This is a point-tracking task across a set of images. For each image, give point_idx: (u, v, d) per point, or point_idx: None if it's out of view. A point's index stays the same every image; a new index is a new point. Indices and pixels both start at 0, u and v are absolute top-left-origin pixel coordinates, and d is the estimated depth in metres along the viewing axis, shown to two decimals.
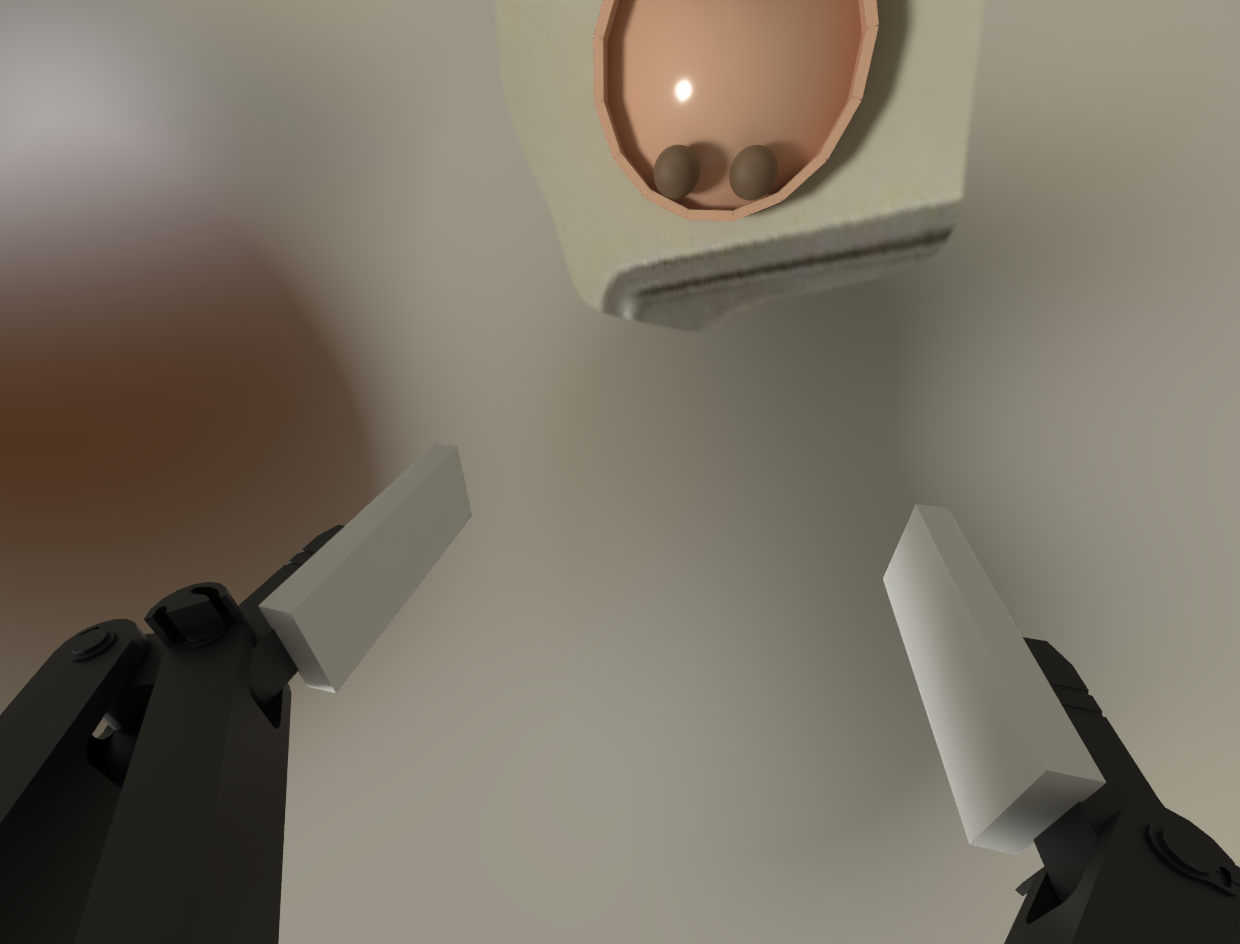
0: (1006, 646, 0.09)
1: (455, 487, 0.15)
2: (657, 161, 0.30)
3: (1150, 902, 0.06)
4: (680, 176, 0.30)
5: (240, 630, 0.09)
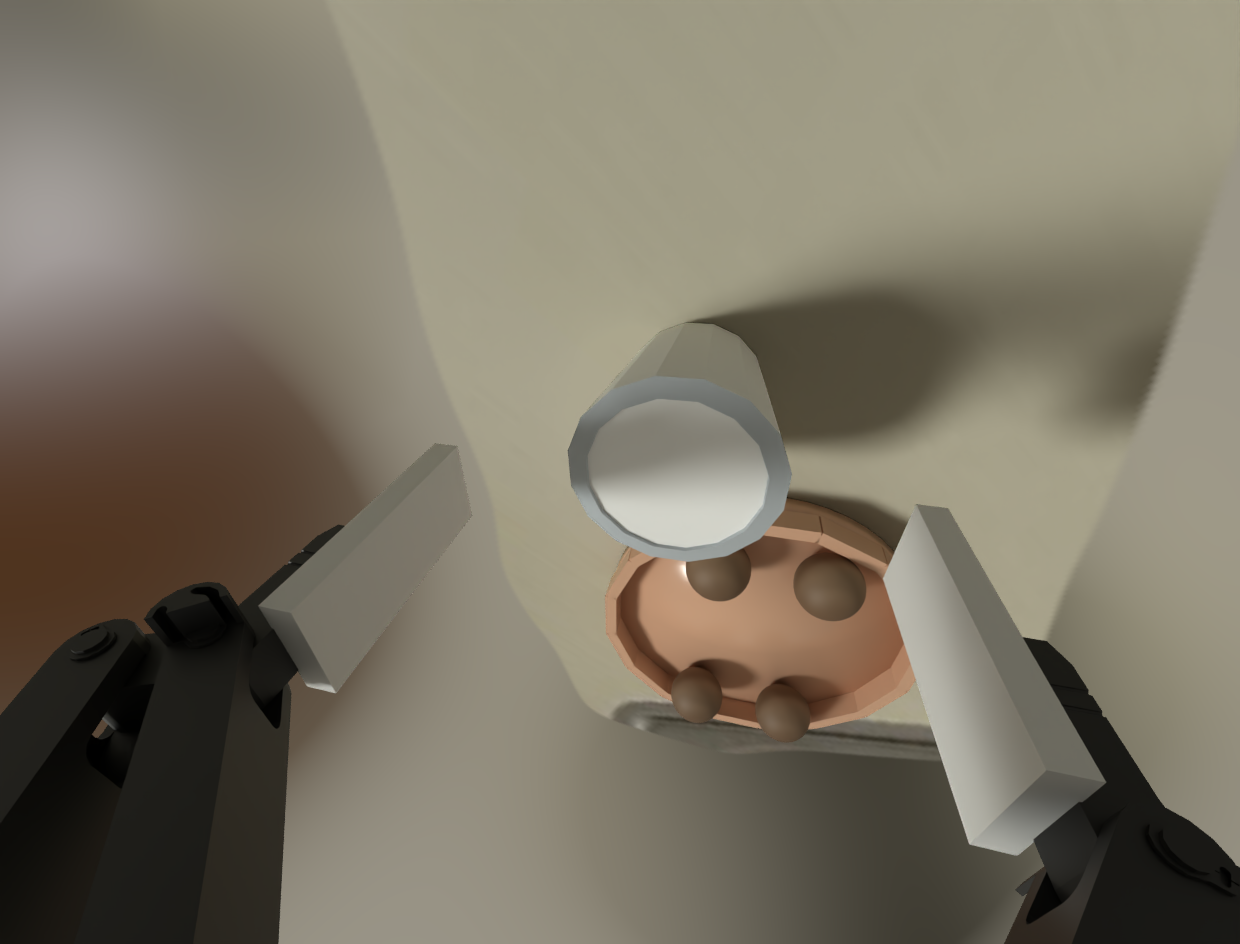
0: (1006, 646, 0.09)
1: (455, 487, 0.15)
2: (675, 695, 0.27)
3: (1150, 902, 0.06)
4: (701, 720, 0.27)
5: (240, 630, 0.09)
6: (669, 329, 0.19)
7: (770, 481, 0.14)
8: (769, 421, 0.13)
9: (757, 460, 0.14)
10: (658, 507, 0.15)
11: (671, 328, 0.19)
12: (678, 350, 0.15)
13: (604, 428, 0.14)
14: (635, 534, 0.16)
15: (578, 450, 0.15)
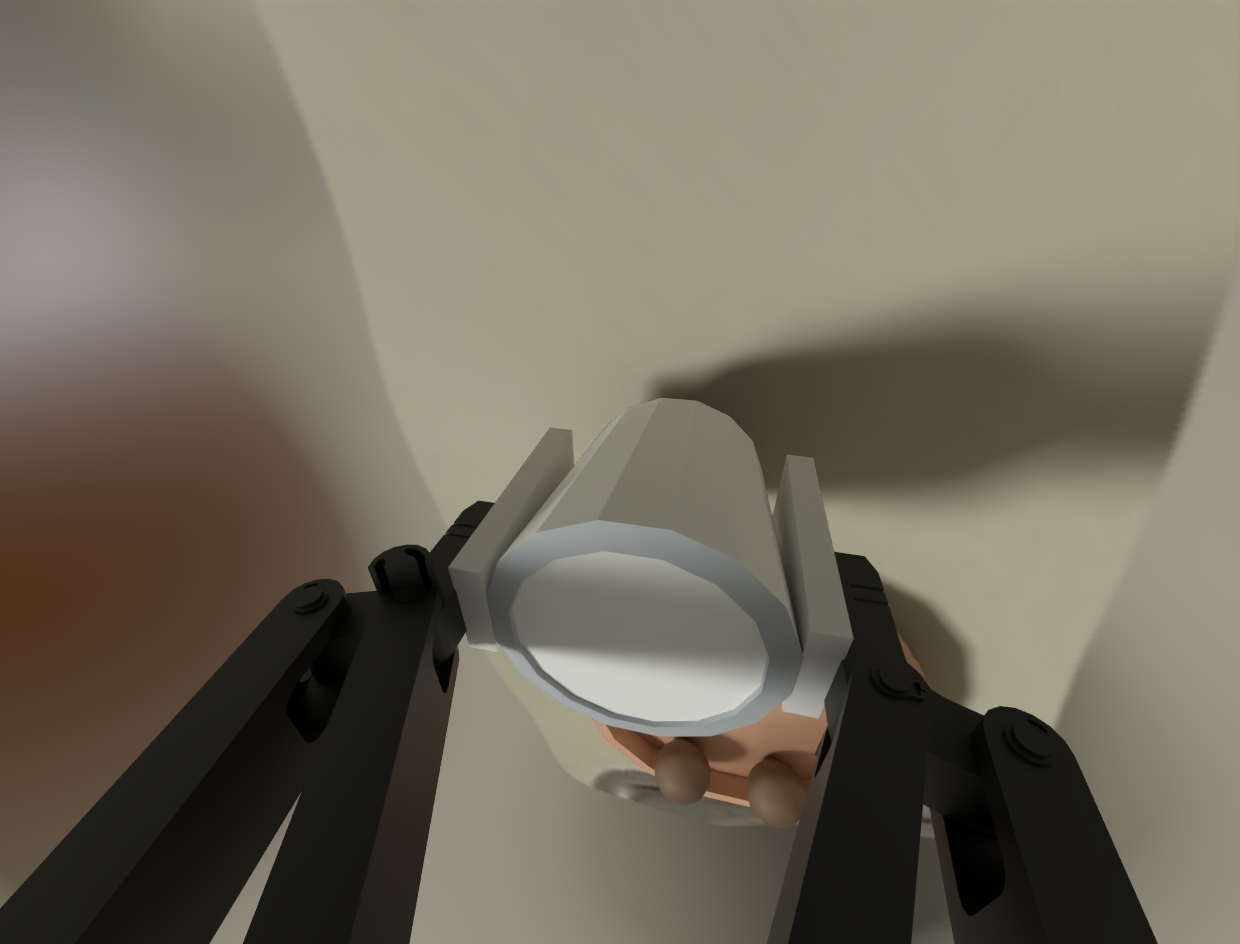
0: (817, 553, 0.11)
1: (568, 469, 0.16)
2: (659, 773, 0.25)
3: (875, 726, 0.08)
4: (687, 803, 0.25)
5: (433, 595, 0.10)
6: (640, 406, 0.14)
7: (771, 662, 0.09)
8: (769, 588, 0.09)
9: (752, 635, 0.09)
10: (614, 674, 0.11)
11: (642, 405, 0.14)
12: (642, 457, 0.11)
13: (531, 579, 0.10)
14: (585, 700, 0.12)
15: (498, 601, 0.10)
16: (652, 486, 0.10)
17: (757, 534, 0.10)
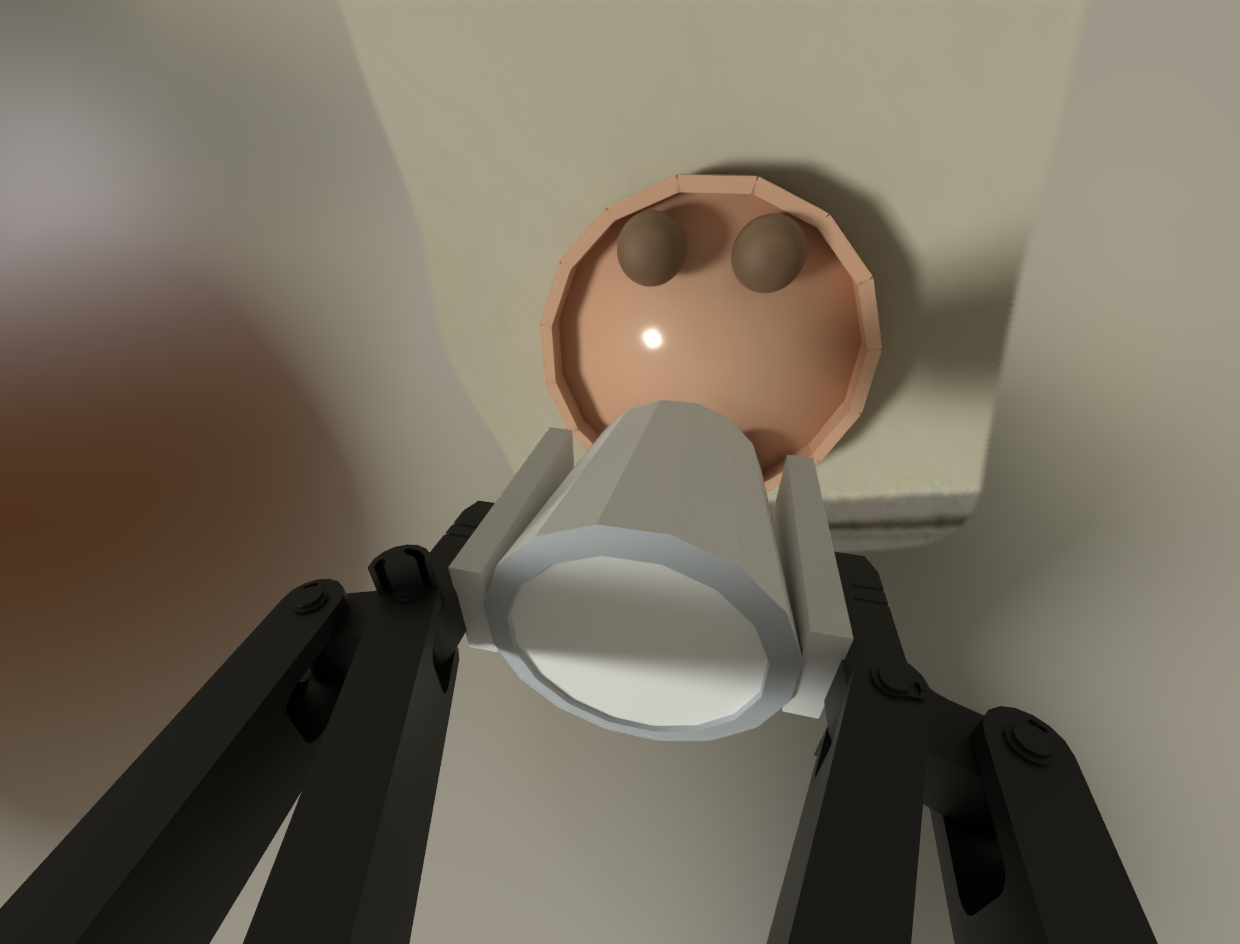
0: (817, 553, 0.11)
1: (568, 469, 0.16)
2: None
3: (875, 726, 0.08)
4: None
5: (434, 595, 0.10)
6: (639, 408, 0.14)
7: (771, 667, 0.09)
8: (769, 593, 0.09)
9: (751, 640, 0.09)
10: (613, 678, 0.11)
11: (642, 407, 0.14)
12: (641, 460, 0.11)
13: (529, 583, 0.10)
14: (584, 705, 0.12)
15: (496, 606, 0.10)
16: (651, 490, 0.10)
17: (757, 538, 0.10)
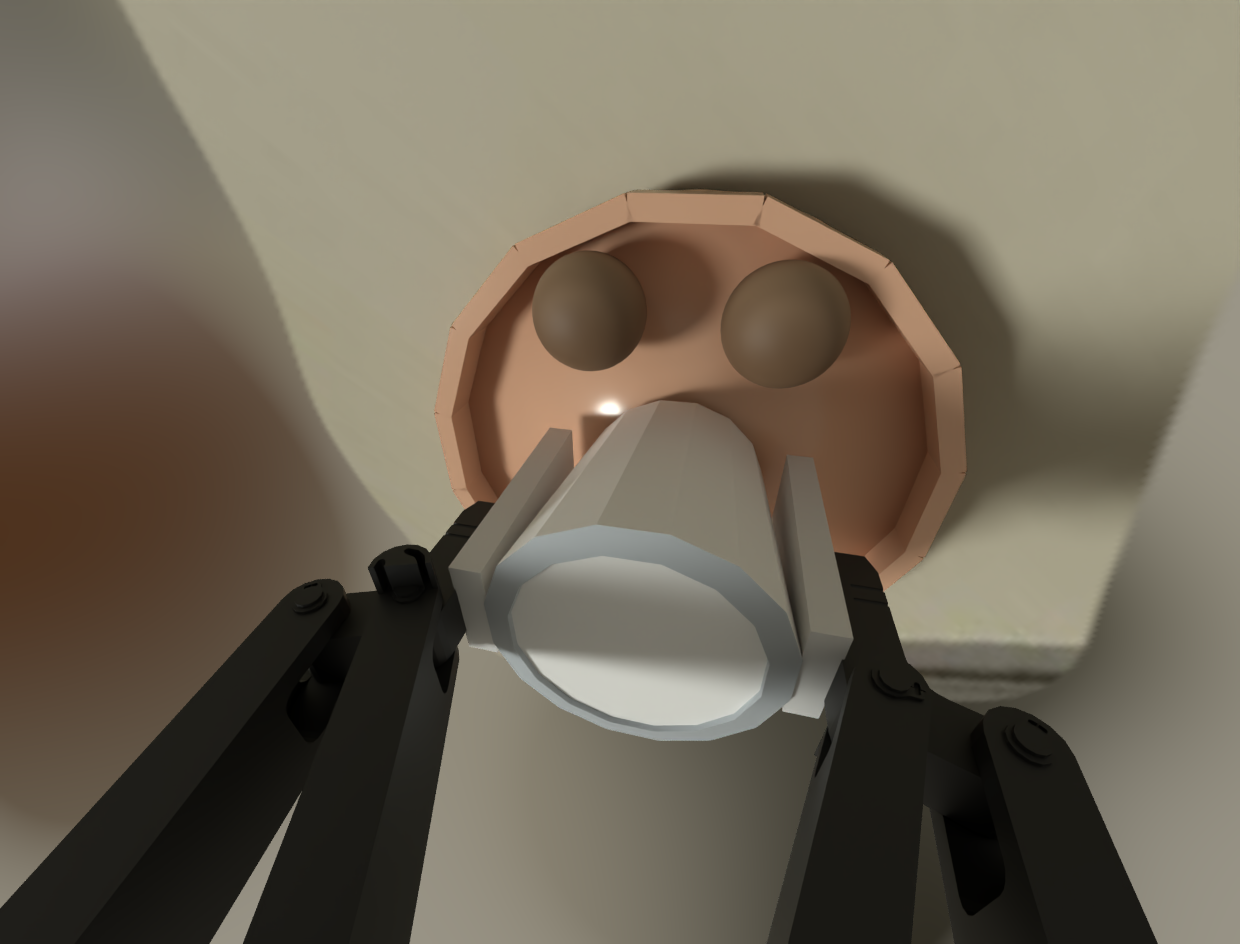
0: (817, 553, 0.11)
1: (568, 469, 0.16)
2: None
3: (875, 726, 0.08)
4: None
5: (433, 595, 0.10)
6: (639, 408, 0.14)
7: (770, 667, 0.09)
8: (769, 593, 0.09)
9: (751, 640, 0.09)
10: (613, 678, 0.11)
11: (642, 407, 0.14)
12: (641, 460, 0.11)
13: (529, 583, 0.10)
14: (584, 704, 0.12)
15: (497, 606, 0.10)
16: (651, 490, 0.10)
17: (757, 538, 0.10)
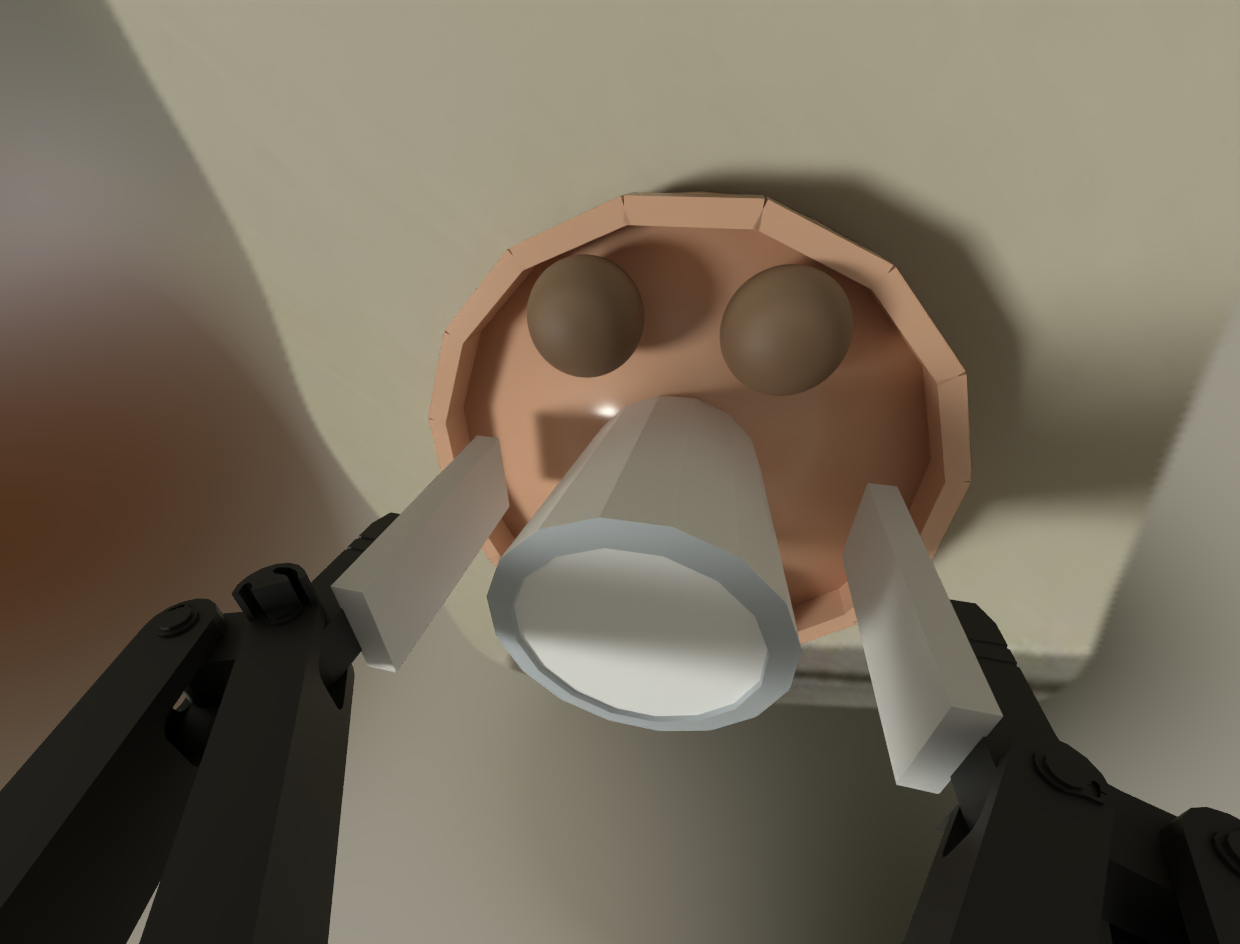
0: (932, 604, 0.09)
1: (496, 478, 0.15)
2: None
3: (1037, 820, 0.06)
4: None
5: (314, 612, 0.09)
6: (639, 403, 0.15)
7: (770, 657, 0.10)
8: (769, 584, 0.09)
9: (751, 630, 0.09)
10: (615, 670, 0.11)
11: (641, 402, 0.15)
12: (642, 454, 0.11)
13: (533, 576, 0.10)
14: (586, 696, 0.12)
15: (500, 598, 0.10)
16: (652, 483, 0.10)
17: (756, 530, 0.10)
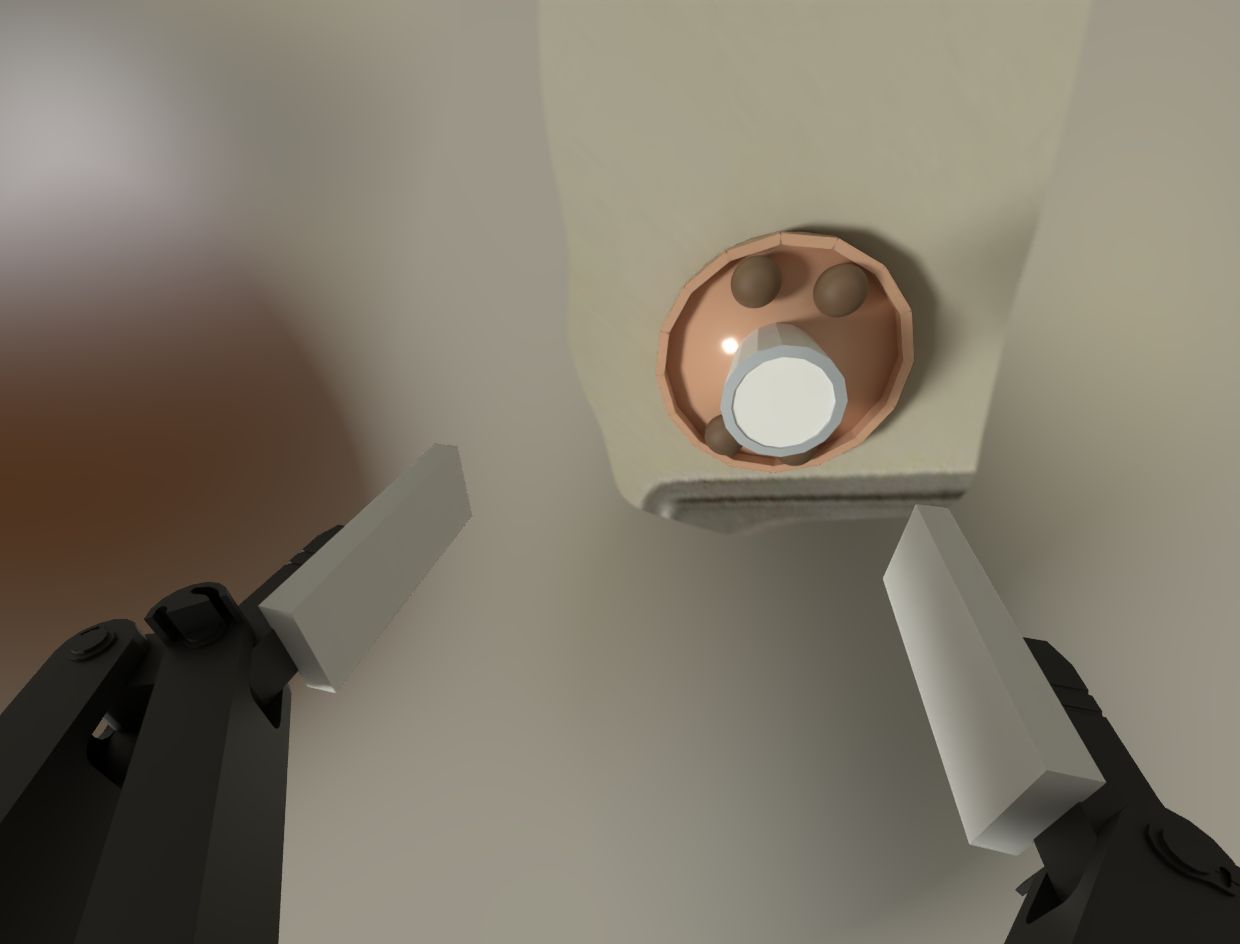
0: (1006, 646, 0.09)
1: (455, 487, 0.15)
2: (709, 429, 0.34)
3: (1150, 902, 0.06)
4: (730, 447, 0.33)
5: (240, 630, 0.09)
6: (765, 326, 0.31)
7: (835, 404, 0.26)
8: (839, 371, 0.25)
9: (830, 392, 0.26)
10: (769, 421, 0.28)
11: (766, 325, 0.31)
12: (784, 335, 0.28)
13: (748, 373, 0.26)
14: (752, 439, 0.28)
15: (730, 386, 0.27)
16: (794, 340, 0.26)
17: None
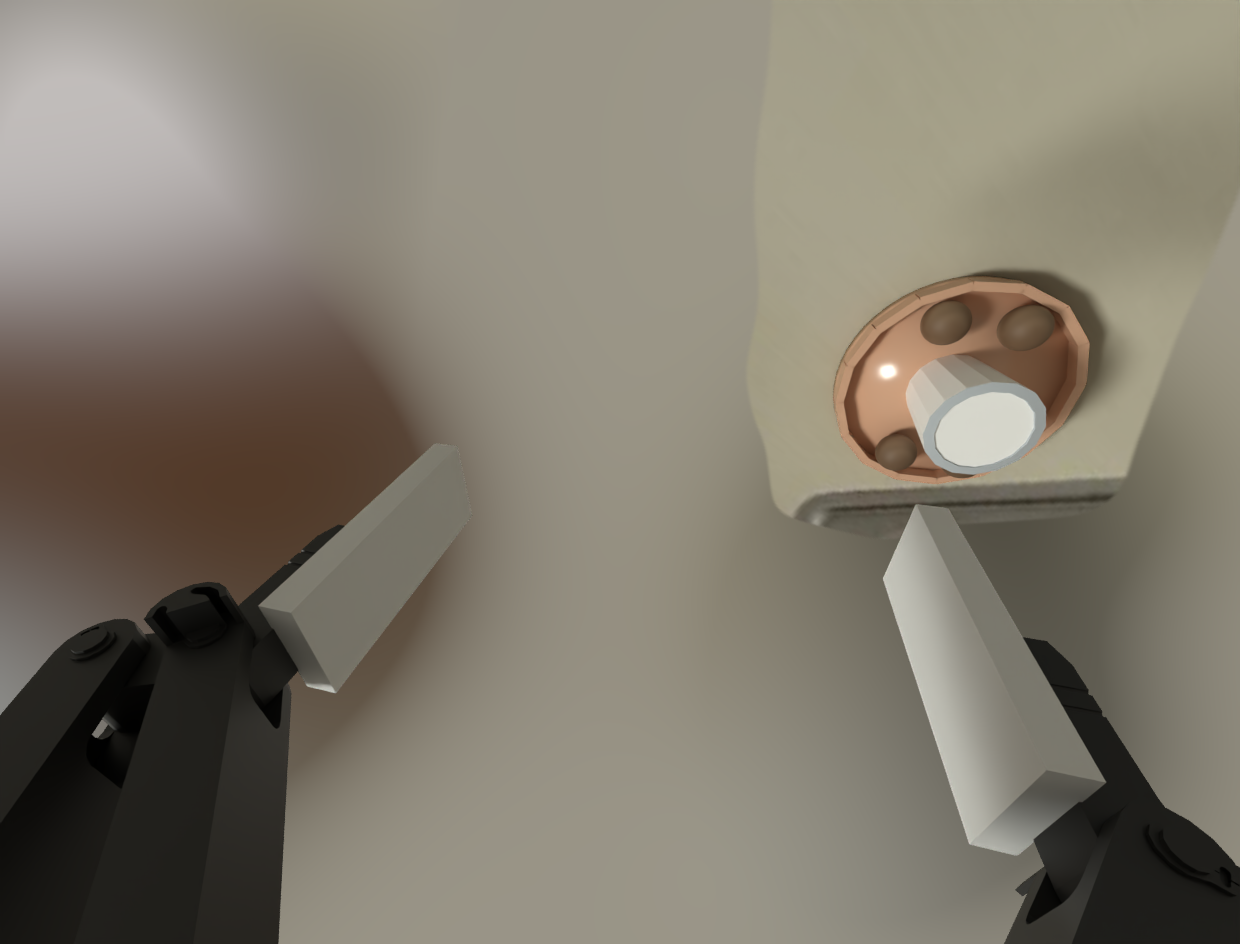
0: (1006, 646, 0.09)
1: (455, 487, 0.15)
2: (884, 448, 0.38)
3: (1150, 902, 0.06)
4: (905, 464, 0.38)
5: (240, 630, 0.09)
6: (943, 357, 0.35)
7: (1034, 430, 0.30)
8: (1041, 402, 0.30)
9: (1030, 420, 0.30)
10: (968, 445, 0.32)
11: (944, 357, 0.35)
12: (979, 370, 0.32)
13: (955, 406, 0.31)
14: (948, 460, 0.33)
15: (936, 416, 0.31)
16: (995, 376, 0.31)
17: None
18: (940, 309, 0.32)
